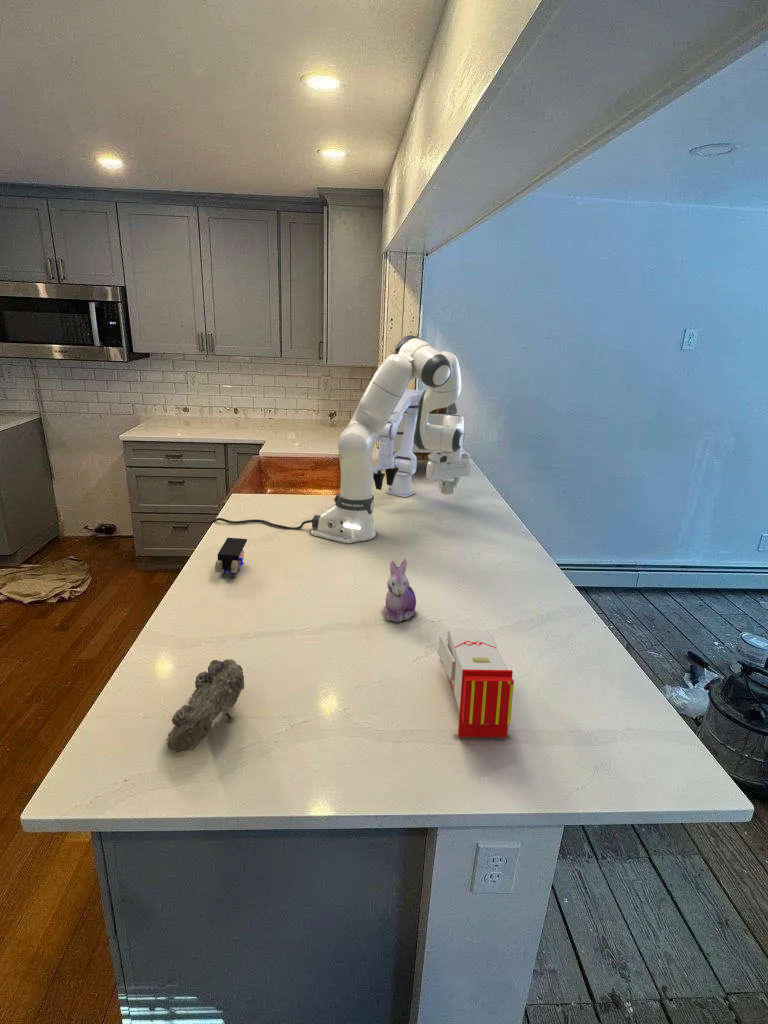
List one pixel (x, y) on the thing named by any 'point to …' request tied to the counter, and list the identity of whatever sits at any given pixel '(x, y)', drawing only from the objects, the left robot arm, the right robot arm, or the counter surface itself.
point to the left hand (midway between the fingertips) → (447, 488)
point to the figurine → (399, 594)
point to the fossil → (206, 705)
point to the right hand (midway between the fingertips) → (384, 487)
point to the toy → (478, 682)
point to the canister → (448, 487)
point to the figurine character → (230, 556)
